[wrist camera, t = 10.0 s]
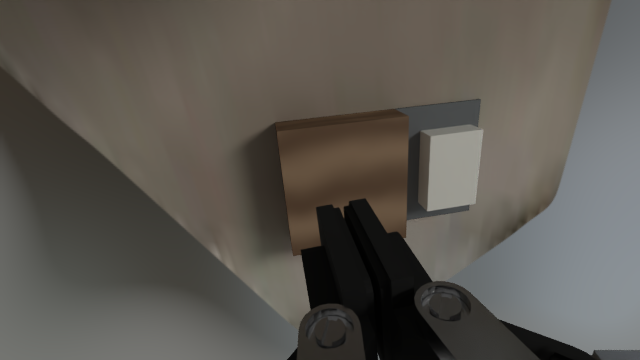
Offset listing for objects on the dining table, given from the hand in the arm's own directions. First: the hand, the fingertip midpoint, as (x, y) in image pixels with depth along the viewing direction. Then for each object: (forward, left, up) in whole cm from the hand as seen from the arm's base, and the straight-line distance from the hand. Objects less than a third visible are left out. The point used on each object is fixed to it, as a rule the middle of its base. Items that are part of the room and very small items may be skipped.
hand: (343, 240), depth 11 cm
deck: (+8, +5, -25) cm, 27 cm away
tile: (+8, +17, -23) cm, 30 cm away
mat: (+8, +16, -25) cm, 31 cm away
